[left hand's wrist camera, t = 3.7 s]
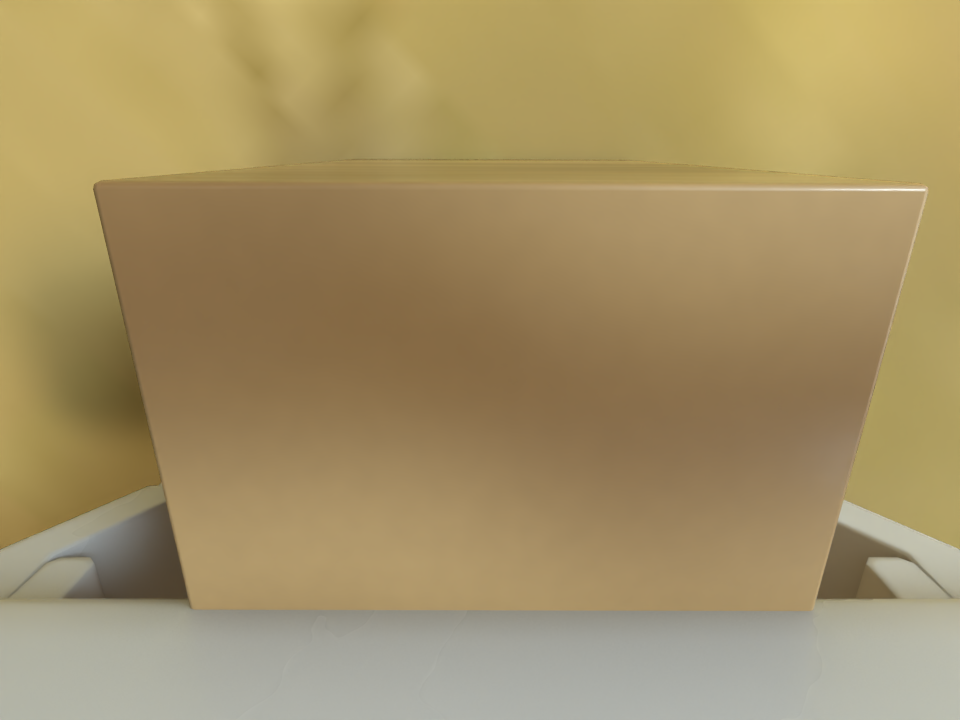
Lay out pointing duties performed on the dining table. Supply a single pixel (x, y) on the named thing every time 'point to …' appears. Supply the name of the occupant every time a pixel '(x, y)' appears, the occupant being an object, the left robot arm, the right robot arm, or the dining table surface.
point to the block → (506, 377)
